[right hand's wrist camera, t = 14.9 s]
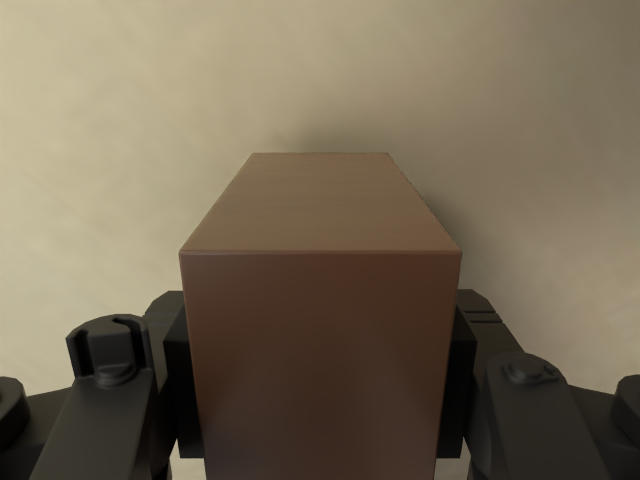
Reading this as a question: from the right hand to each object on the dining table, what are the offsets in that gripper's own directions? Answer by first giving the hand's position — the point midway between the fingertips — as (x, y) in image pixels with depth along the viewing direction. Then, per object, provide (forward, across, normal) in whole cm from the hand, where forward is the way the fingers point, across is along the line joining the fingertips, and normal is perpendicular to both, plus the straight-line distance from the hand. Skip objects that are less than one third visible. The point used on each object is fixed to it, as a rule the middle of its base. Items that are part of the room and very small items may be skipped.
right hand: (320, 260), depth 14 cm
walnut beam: (0, 0, -10) cm, 10 cm away
